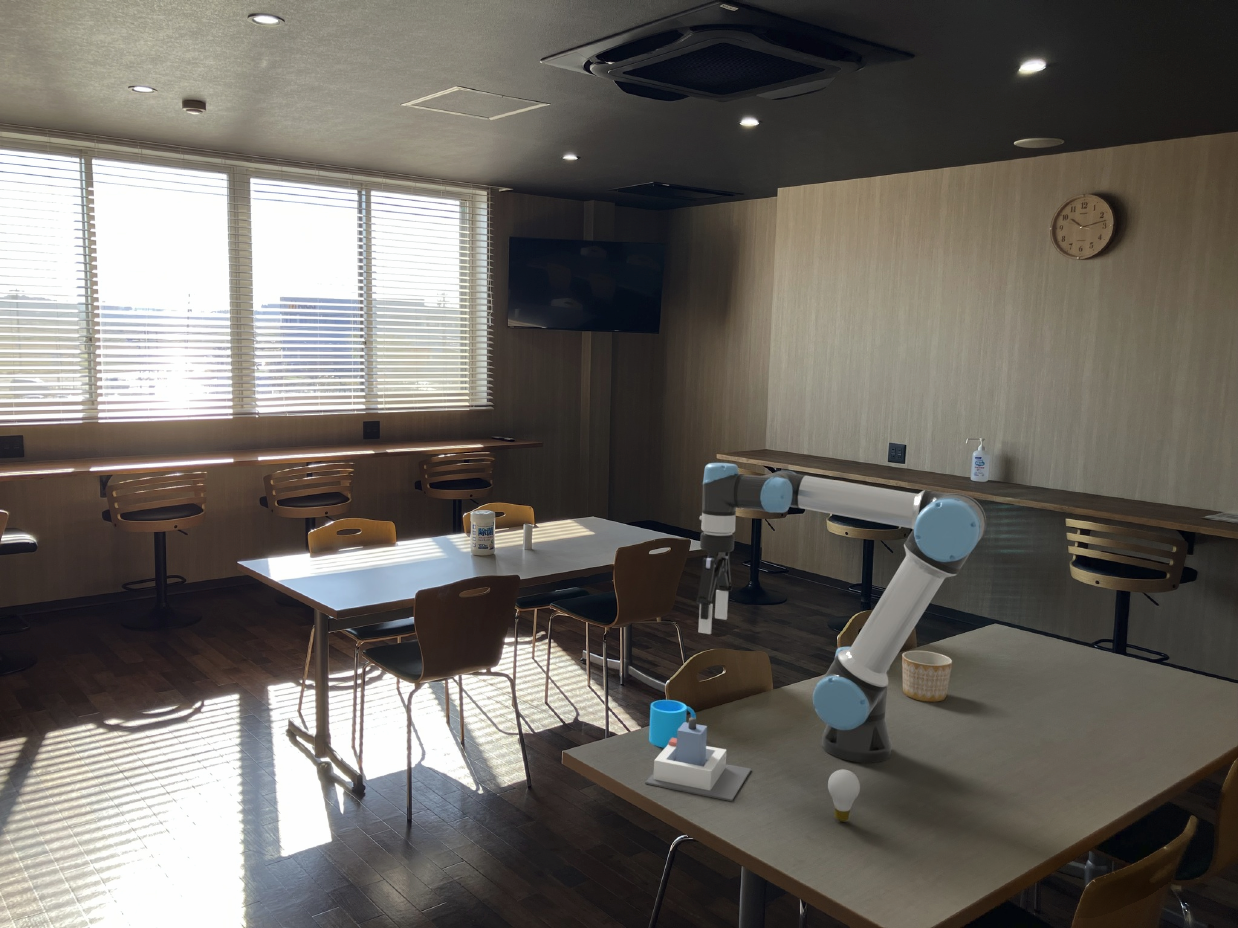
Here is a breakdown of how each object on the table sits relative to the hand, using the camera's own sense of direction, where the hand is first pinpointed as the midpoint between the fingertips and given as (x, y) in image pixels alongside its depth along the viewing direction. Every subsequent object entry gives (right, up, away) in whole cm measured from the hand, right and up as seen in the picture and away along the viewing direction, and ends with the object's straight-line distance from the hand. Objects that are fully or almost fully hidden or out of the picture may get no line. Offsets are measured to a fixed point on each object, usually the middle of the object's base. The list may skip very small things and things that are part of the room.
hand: (713, 625), depth 215 cm
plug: (-6, -26, -17) cm, 32 cm away
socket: (-5, -28, -17) cm, 34 cm away
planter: (+60, -26, +39) cm, 76 cm away
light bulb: (+21, -31, -34) cm, 51 cm away
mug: (-9, -27, +2) cm, 28 cm away
